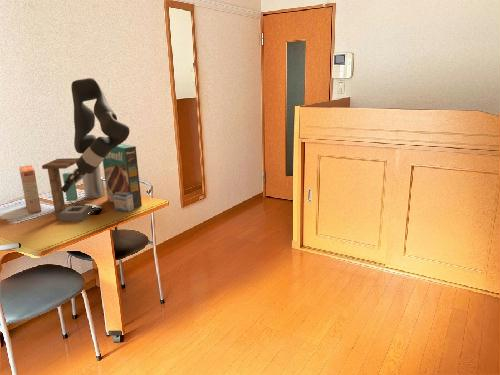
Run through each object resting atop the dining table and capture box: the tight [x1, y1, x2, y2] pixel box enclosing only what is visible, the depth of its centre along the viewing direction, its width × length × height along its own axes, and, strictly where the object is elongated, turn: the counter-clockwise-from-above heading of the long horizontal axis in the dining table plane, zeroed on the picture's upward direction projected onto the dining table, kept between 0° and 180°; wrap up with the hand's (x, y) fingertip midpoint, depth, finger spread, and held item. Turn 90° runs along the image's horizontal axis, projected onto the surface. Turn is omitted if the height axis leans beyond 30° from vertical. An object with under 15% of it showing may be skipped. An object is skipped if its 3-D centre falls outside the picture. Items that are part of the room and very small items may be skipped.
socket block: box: [59, 205, 93, 223], centre depth 181 cm, size 10×10×4 cm
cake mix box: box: [102, 143, 143, 209], centre depth 197 cm, size 22×6×30 cm, turn 49°
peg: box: [62, 172, 79, 202], centre depth 161 cm, size 4×4×11 cm
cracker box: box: [19, 165, 42, 214], centre depth 192 cm, size 14×6×21 cm, turn 33°
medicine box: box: [113, 192, 135, 213], centre depth 189 cm, size 8×4×9 cm, turn 70°
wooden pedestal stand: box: [41, 157, 80, 221], centre depth 178 cm, size 14×10×26 cm
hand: (66, 188), depth 161 cm, fingers closed on peg, 4 cm apart
